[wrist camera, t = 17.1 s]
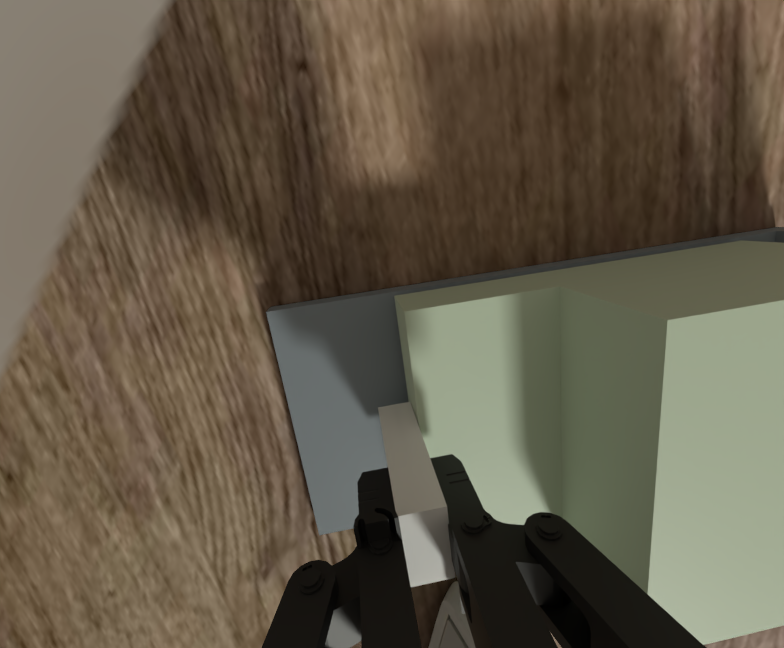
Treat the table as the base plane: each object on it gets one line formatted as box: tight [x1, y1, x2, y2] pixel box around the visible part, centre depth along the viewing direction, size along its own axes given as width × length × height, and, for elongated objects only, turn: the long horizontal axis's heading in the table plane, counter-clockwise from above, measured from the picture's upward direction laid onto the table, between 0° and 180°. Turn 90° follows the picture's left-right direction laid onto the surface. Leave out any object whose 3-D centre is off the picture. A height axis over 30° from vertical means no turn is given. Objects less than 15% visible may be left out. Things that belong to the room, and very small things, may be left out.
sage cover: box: [394, 240, 784, 645], centre depth 15 cm, size 17×12×8 cm
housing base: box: [266, 227, 784, 535], centre depth 16 cm, size 26×12×9 cm, turn 98°
